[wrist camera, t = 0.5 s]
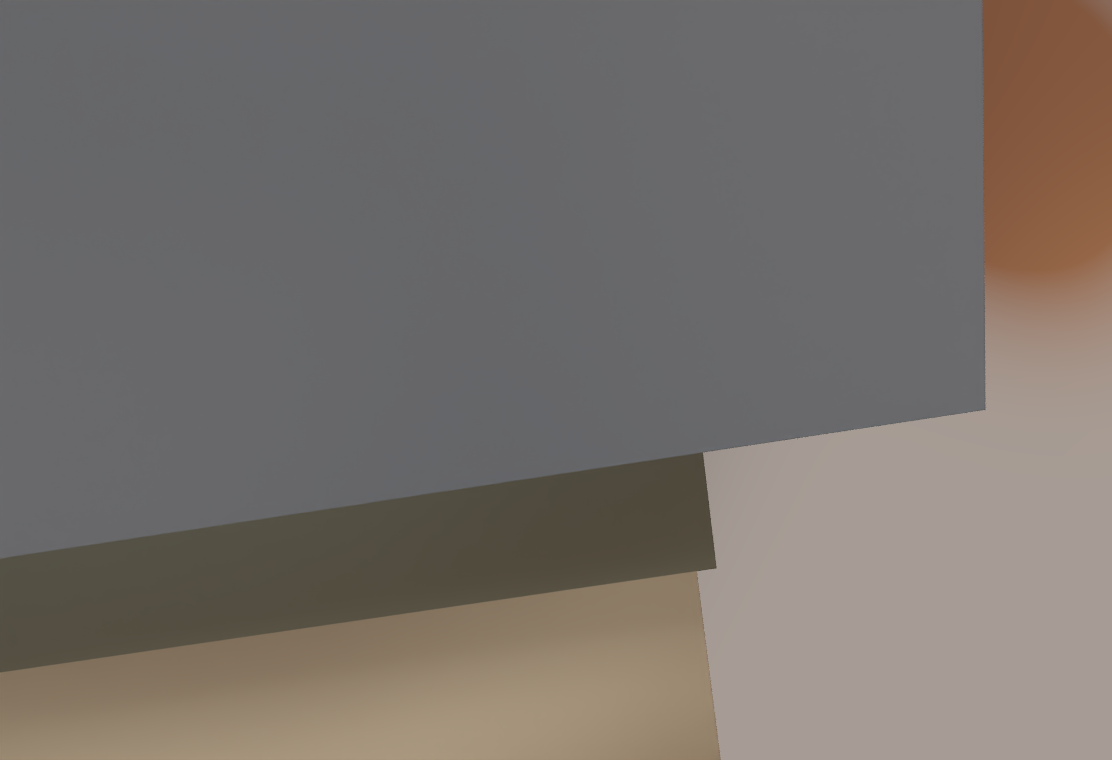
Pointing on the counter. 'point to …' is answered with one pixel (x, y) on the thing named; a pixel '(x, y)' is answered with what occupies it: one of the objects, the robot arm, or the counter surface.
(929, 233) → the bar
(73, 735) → the stand
